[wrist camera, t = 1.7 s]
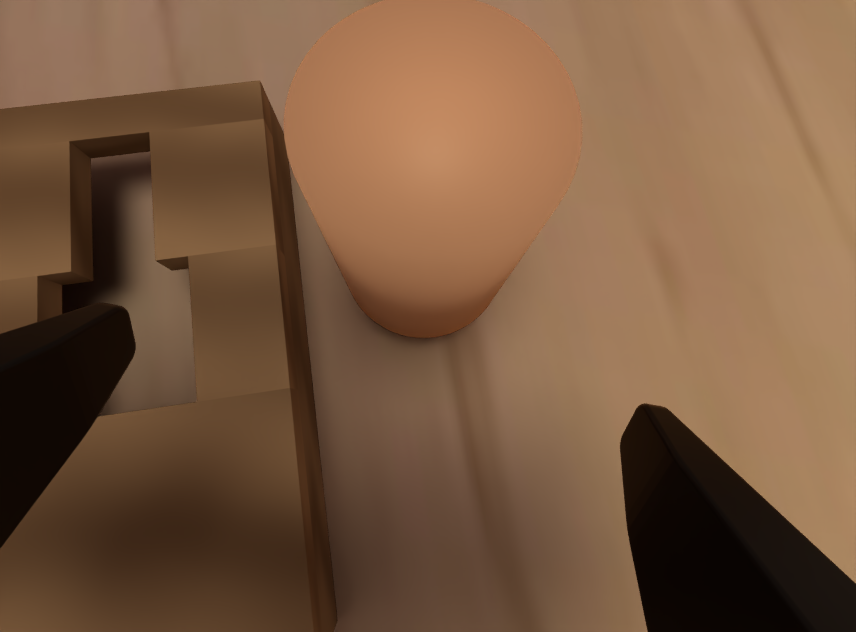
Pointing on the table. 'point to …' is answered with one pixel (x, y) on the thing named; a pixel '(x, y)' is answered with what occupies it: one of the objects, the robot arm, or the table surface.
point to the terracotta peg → (431, 154)
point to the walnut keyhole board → (214, 371)
